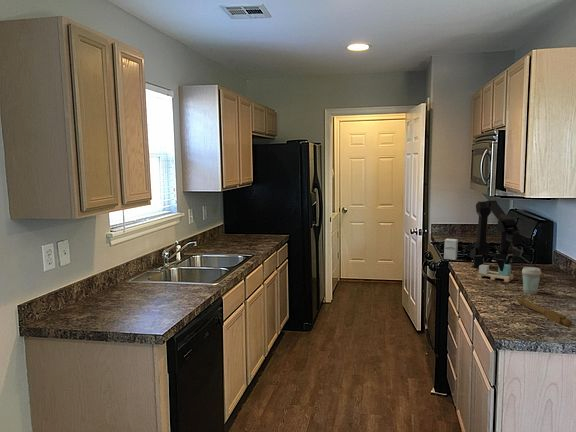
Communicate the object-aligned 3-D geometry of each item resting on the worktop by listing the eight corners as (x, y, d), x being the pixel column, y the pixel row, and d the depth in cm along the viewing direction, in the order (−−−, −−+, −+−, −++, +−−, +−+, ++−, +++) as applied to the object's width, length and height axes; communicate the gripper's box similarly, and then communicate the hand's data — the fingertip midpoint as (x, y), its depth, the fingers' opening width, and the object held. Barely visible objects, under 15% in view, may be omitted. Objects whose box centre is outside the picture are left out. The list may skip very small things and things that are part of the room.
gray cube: (481, 271, 264) (481, 264, 263) (488, 272, 261) (489, 265, 261) (478, 272, 261) (479, 265, 260) (486, 274, 258) (486, 266, 258)
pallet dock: (482, 274, 268) (483, 269, 268) (513, 278, 258) (513, 274, 257) (477, 277, 261) (477, 272, 261) (508, 282, 251) (508, 277, 251)
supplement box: (443, 259, 307) (444, 239, 305) (445, 256, 313) (446, 238, 312) (455, 260, 303) (456, 240, 302) (457, 258, 310) (458, 238, 308)
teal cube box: (500, 272, 261) (501, 263, 261) (510, 273, 258) (511, 264, 258) (498, 274, 258) (498, 265, 257) (507, 275, 254) (508, 266, 254)
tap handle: (524, 297, 215) (573, 319, 186) (523, 304, 216) (572, 327, 186) (518, 297, 215) (566, 320, 185) (517, 304, 215) (565, 327, 186)
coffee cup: (528, 295, 227) (529, 271, 226) (516, 290, 236) (518, 267, 234) (544, 294, 228) (545, 270, 227) (532, 289, 237) (533, 266, 235)
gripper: (516, 245, 243) (515, 275, 245) (526, 240, 257) (525, 268, 259) (494, 243, 251) (492, 272, 253) (505, 238, 265) (503, 265, 267)
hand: (504, 269), depth 258 cm, fingers open, 9 cm apart
